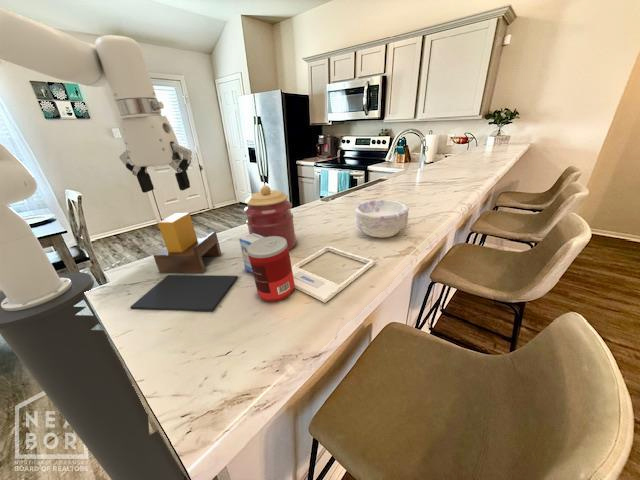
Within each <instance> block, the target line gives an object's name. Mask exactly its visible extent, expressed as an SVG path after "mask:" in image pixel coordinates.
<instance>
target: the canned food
mask: <svg viewBox="0 0 640 480" xmlns="http://www.w3.org/2000/svg"><path fill="white" fill-rule="evenodd" d="M247 251H248V256H249V260H250V264H251V268H252V272H253V273H252V275H253V279H254V284H255V287H256V291H257V294H258V296H259V297H260V298H261V300H263V301H266V302H279V301H282V300H284V299H286V298H288V297H289V296H290V295H291V294H292V293H293V291H294V289H295V288H294V278H293V273H292V267H291V266H292V262H291V256H290V250H289V249H288V244H287V241H286V239H285V238H283V237H279V236H270V237H264V238H261V239H258V240H256V241H254V242H253V243H251V244H250V245H249V246H248V248H247Z"/></svg>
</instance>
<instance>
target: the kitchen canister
mask: <svg viewBox="0 0 640 480" xmlns="http://www.w3.org/2000/svg"><path fill="white" fill-rule="evenodd" d="M288 198H289V196H288V194H286V193H284V192H282V191H281V190H276V189H275V190H273V189H272V190H271V187H270V186H269V185H262V186H261V187H260V191H258V192H254V193H252V194H250V196H249V197H247V198H246V200H245V204H246V205H247V206H245V207H244V209H243V212H244V214H245V215H246V218H247V219H246V221H245V222H246V226H247V229H248V230H247V231H248V235H249V234H252V233H255V234H258V235H261V236H263V237H270V236H279V237H283V238H285V239H286V241H287V244H288V249H289V251H290V250H292V249H293V248H294V247H295V246H296V242H297V234H296V230H295V224H294V214H293V213H292V210H291V209H292V206H293V204H292V202H291V201H289V200H288Z"/></svg>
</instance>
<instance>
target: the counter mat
mask: <svg viewBox="0 0 640 480" xmlns="http://www.w3.org/2000/svg"><path fill="white" fill-rule="evenodd" d="M237 279H238V275H211V274H210V275H205V274H203V275H197V274H195V275H192V274H190V275H189V274H187V275H186V274H182V275H181V274H168V275H166V276H165V277H164V278H163V279H161V280H160V281H159V282H158V283H157V284H155V285H154V286H153V287H152V288H151V289H149V290H148V292H146V293H145V294H144V295H143V296H141V297H140V298H139V299H137V301H135V302H134V303H133V304H131V306H129V308H130V310H142V311H143V310H144V311H145V310H146V311H147V310H148V311H177V312H178V311H180V312H211V313H213V312H214V311H215V310H216V308H217V307H218V306H219V304H220V303H221V301H222V300H223V299H224V297H225V296H226V295H227V293H228V292H229V290H230V289H231V288H232V286H233V285H234V283H235V282H236V281H237Z"/></svg>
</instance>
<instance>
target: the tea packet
mask: <svg viewBox="0 0 640 480" xmlns="http://www.w3.org/2000/svg"><path fill="white" fill-rule="evenodd" d="M157 225H158V229H159V231H160V234H161V237H162V240H163V242H164V246H165V247H166V248H167V251H168V252H183V251H185V250H186V249H187V248H189V247H190V246H191V245H192V244H194V243H195V242H196V241H198V240H197V238H198V237H197V233H196V230H195V227H194V224H193V220H192V216H191V213H190V212H176V213H175V212H174V213H173V214H171V215H169V216H168V217H165V218H164V219H161V220H160V221H158V222H157Z"/></svg>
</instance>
